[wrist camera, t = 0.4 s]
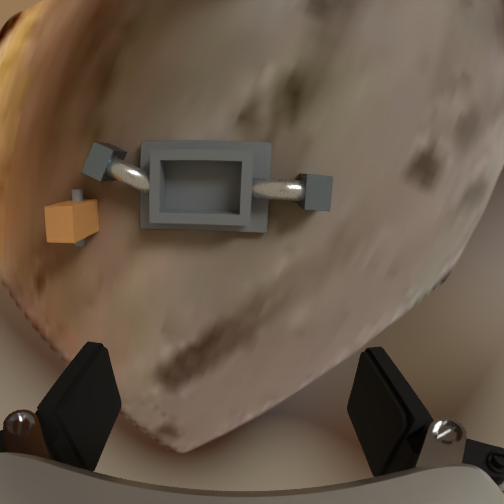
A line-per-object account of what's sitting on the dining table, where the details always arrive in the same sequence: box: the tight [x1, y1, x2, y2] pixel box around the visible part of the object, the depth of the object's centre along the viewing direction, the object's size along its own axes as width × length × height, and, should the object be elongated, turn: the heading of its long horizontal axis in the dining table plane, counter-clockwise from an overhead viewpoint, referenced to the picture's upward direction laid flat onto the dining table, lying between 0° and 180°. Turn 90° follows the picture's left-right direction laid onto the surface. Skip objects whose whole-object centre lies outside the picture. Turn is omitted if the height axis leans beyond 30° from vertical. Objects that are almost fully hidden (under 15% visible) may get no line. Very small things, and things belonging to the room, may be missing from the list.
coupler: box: [44, 189, 99, 247], centre depth 34 cm, size 4×8×7 cm, turn 177°
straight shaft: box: [251, 174, 333, 211], centre depth 35 cm, size 9×4×4 cm, turn 87°
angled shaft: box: [82, 142, 150, 195], centre depth 34 cm, size 9×4×4 cm, turn 62°
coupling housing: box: [140, 140, 272, 233], centre depth 35 cm, size 11×16×4 cm
